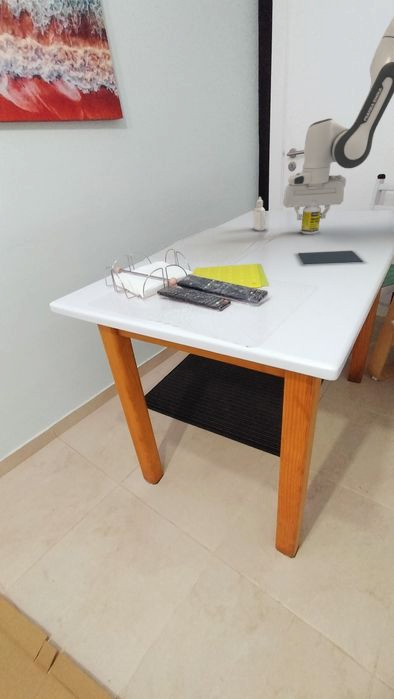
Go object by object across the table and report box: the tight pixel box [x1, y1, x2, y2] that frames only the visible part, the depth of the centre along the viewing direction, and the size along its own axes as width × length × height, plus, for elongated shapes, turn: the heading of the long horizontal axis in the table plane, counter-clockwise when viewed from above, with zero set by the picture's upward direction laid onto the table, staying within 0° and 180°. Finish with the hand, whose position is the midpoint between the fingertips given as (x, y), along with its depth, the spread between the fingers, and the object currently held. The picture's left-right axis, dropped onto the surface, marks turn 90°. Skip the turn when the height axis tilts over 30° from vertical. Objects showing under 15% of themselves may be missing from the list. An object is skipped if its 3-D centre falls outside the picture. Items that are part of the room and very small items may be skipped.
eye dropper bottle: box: [253, 196, 266, 232], centre depth 131 cm, size 4×6×12 cm
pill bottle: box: [300, 201, 322, 235], centre depth 122 cm, size 6×6×11 cm
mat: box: [298, 250, 363, 265], centre depth 100 cm, size 16×10×1 cm, turn 85°
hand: (310, 219), depth 122 cm, fingers open, 7 cm apart
